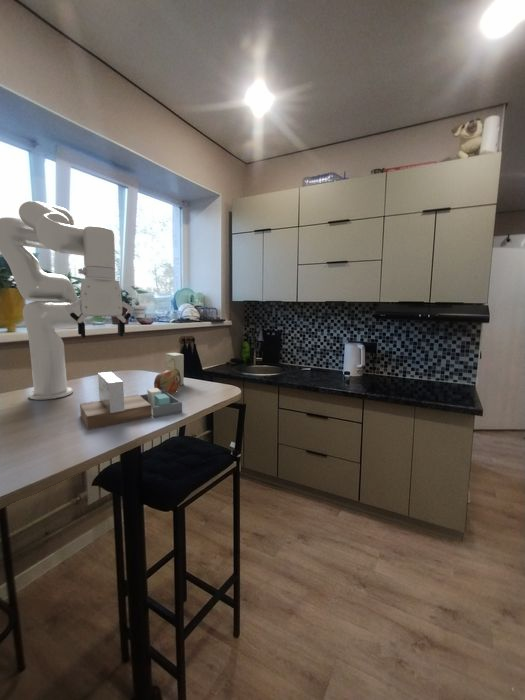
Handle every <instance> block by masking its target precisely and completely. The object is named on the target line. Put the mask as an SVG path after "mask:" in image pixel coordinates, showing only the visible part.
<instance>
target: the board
mask: <svg viewBox="0 0 525 700" xmlns="http://www.w3.org/2000/svg"><path fill="white" fill-rule="evenodd" d="M140 395H141V394H135V395H134V394H133V395H128V396H124V409H125V411H120V412H114V413H110V412H109V411H108V410H107V408H106V407H105V406H104V404H103V403H102V402H101V401H100V400H96V401H90V402H84V403H82V402H81V403H79V407H80V408H79V409H80V411H79V412H80V417H81V419H82V421H83V422H84V424H85V426H86V429H87V430H88V431H89V430H95V429H98V428H104V427H108V426H112V425H118V424H123V423H128V422H133V421H138V420H142V419H143V420H144V419H148V418H153V417H152V414H151V404H149V403H148V402H147V401H146V400H144V399H143V398H142V397H141V396H140Z"/></svg>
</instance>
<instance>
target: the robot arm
mask: <svg viewBox="0 0 525 700" xmlns="http://www.w3.org/2000/svg"><path fill="white" fill-rule="evenodd" d="M18 215H19V218H17V217H1V218H0V254H1V256H2V257H3V259H4V260H5V261H6V264H7V265H8V267H9V268H10V269H9V270H10V271H11V274H12V276H13V279H14V282H15V285H16V287H17V289H18V291H19V294H20V295H21V297H22V298H23V299H24V300H27V301H29V303H27V304H26V305H24V307H23V309H22V317H23V318H22V319H23V321H24V324H25V328H26V332H27V337H28V344H29V354H30V363H31V372H32V375H31V376H32V383H33V390H32V391H30V392H29V393H28V398H29V399H31V400H35V401H36V400H37V401H38V400H40V401H41V400H53V399H58V398H64V397H67V396H69V395H71V394H72V393H73V388H72V387H70V386H68V381H67V367H66V366H67V365H66V355H65V343H64V341H63V339H62V337H60V336H59V334H58V333H57V332H56V330H57V331H58V330H69V329H76V328H77V335H80V337H81V338H82V339H84V338H86V323H84V321H85V320H86V319H87V317H116V318H117V319H118V322H117V335H118V336H119V337H124V334H125V333H126V327H125V325H126V322H127V321H128V319H130V318H131V317H132V314H133V312H134V310H135V307H134V306H132V305H130V304H128V303H126V302H124V301H123V299H122V291H121V285H120V281H119V280H116V255H115V254H116V253H115V252H116V250H115V249H116V247H115V246H116V245H115V232H114V231H113V230H112V229H111V228H108V227H106V226H101V225H86V226H84V227H81V226H75V225H74V224H75V222H74V217H73V215H72V214H71V212H70V211H69V210H68V209H66V208H64V207H62V206H58V205H53V204H49V203H45V202H41V201H34V200H29V201H25V202H24V203H22V204H21V205H20V206H19V208H18ZM25 247H28V248H29V247H30V248H37V249H43V250H44V249H45V250H51V251H53V252H56V253H60V254H69V255H75V256H82V257H83V263H84V266H83V267H82V268H78V269H77V271H78V274H79V275H83V277H84V278H81V283H80V292H79V293H80V294H79V296H80V298H79V297H78V295H77V292H76V290H75V287H74V284H73V283H72V281H71V280H70V279H69V278H68V277H67V276H65V275H63V274H58V273H47V272H45V271H44V270H43V269H42V266H41V264H40V261H39V259H38V258H37V257H36V256H35V255H34V254H33V253H32V252H30V251H29V250H28V249H27V248H25ZM123 308H125V309H127V311H126V312H125V313H124V314H123ZM122 314H123V315H122Z"/></svg>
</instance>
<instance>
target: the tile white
mask: <svg viewBox="0 0 525 700" xmlns="http://www.w3.org/2000/svg"><path fill="white" fill-rule="evenodd" d="M146 389H147V388H146ZM146 394H147V395H148V403H149V404H151V406H152V407H154V406H155V400H154V395H158V394H161V390H159V389H158V388H153V387H152V388H148V389H147V393H146Z"/></svg>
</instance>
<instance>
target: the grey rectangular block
mask: <svg viewBox="0 0 525 700" xmlns="http://www.w3.org/2000/svg"><path fill="white" fill-rule="evenodd" d="M97 378H98V379H97V381H98V393H99V395H98V396H99V397H98V398H99V401H101V402H102V403H103V404H104V406H105V407H106V408H107V410H108V411H109V412H110V413H114V412H120V411H125V409H124V397H125V396H124V395H125V393H124V392H125V391H124V381H123V380H122V379H121V378H119V377H118V376H117V375H116V374H115V373H114V372H112V371H102V372H97Z"/></svg>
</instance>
